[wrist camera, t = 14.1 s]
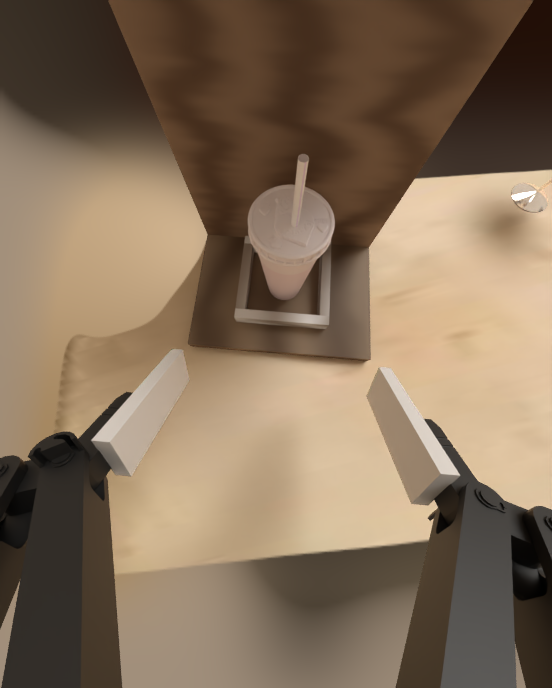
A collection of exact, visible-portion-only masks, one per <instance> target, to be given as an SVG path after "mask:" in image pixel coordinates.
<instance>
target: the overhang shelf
mask: <svg viewBox="0 0 552 688" xmlns="http://www.w3.org/2000/svg"><path fill="white" fill-rule="evenodd" d="M108 1H109V3H110V6H111V8H112V10H113V13H114V15H115V17H116V20H117V22H118V24H119V27H120V29H121V31H122V34H123V36H124V39H125V41H126V43H127V46H128V48H129V50H130V53H131V55H132V57H133V60H134V62H135V64H136V66H137V69H138V71H139V74H140V76H141V78H142V81H143V83H144V85H145V88H146V90H147V92H148V95H149V97H150V99H151V102H152V104H153V107H154V109H155V111H156V114H157V116H158V119H159V121H160V123H161V125H162V128H163V130H164V132H165V135H166V137H167V140H168V142H169V144H170V147H171V149H172V151H173V154H174V156H175V159H176V161H177V163H178V166H179V168H180V170H181V173H182V175H183V177H184V180H185V182H186V184H187V187H188V189H189V191H190V194H191V196H192V198H193V201H194V203H195V205H196V208H197V210H198V213H199V215H200V217H201V219H202V222H203V224H204V227H205V229H206V231H207V234H208V236H207V241H206V247H205V252H204V258H203V263H202V269H201V274H200V280H199V285H198V291H197V296H196V302H195V307H194V312H193V318H192V323H191V329H190V334H189V340H188V344H189V345H190V346H198V347H210V348H221V349H233V350H245V351H257V352H269V353H280V354H292V355H304V356H316V357H327V358H339V359H351V360H363V361H368V360H371V352H370V291H369V246H370V245H371V243H372V242H373V240H374V239H375V237H376V236H377V234H378V233H379V231H380V230H381V228H382V227H383V225H384V224H385V222H386V221H387V219H388V218H389V216H390V215H391V213H392V212H393V210H394V209H395V207H396V206H397V204H398V203H399V201H400V200H401V198H402V197H403V195H404V194H405V192H406V191H407V189H408V188H409V186H410V185H411V183H412V182H413V180H414V179H415V177H416V175H417V174H418V173H419V171H420V170H421V168H422V167H423V165H424V164H425V162H426V161H427V159H428V157H429V156H430V155H431V153H432V152H433V150H434V149H435V147H436V146H437V144H438V143H439V141H440V140H441V138H442V136H443V135H444V134H445V132H446V131H447V129H448V128H449V126H450V125H451V123H452V122H453V120H454V119H455V117H456V116H457V114H458V113H459V111H460V110H461V108H462V107H463V105H464V104H465V102H466V101H467V99H468V98H469V96H470V95H471V93H472V92H473V90H474V89H475V87H476V86H477V84H478V83H479V81H480V80H481V78H482V77H483V75H484V74H485V72H486V71H487V69H488V68H489V66H490V65H491V63H492V62H493V60H494V59H495V57H496V56H497V54H498V53H499V51H500V50H501V48H502V47H503V45H504V43H505V42H506V41H507V39H508V38H509V36H510V35H511V33H512V32H513V30H514V29H515V27H516V25H517V24H518V23H519V21H520V20H521V18H522V17H523V15H524V13H525V12H526V11H527V9H528V8H529V6H530V5H531V3H532V2H533V0H108ZM301 154H306V155H307V156H308V157H309V162H308V168H307V175H306V181H305V187H307V188H309V189H312V190H314V191H315V192H317V193H318V194H320V195H321V196H322V197H323V198H324V199H325V200H326V201H327V202H328V203H329V205H330V207H331V209H332V211H333V214H334V218H335V227H334V232H333V235H332V238H331V243H330V244H329V246H328V248H327V250H326V251H325V252H324V253H323V254H322V255H321V256H320V257H319V258H318V259H317V260H316V262H315V263H314V265H313V267H312V269H311V271H310V272H309V274H308V276H307V278H306V280H305V281H304V283H303V285H302V287H301V288H300V290H299V292H298V294H297V295H296V296H295V297H294V298H292V299H289V300H280V299H277V298H275V297H274V296H273V295H272V294H271V293H270V290H269V287H268V284H267V281H266V277H265V274H264V271H263V268H262V264H261V261H260V258H259V255H258V252H257V251H256V250H255V248H254V247H253V245H252V244H251V241H250V238H249V235H248V213H249V210H250V208H251V206H252V204H253V202H254V201H255V200H256V199H257V197H259V196H260V195H261V194H262V193H263V192H265V191H267V190H269V189H271V188H273V187H277V186H281V185H295V181H296V172H297V163H298V156H299V155H301Z"/></svg>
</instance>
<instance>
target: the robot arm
mask: <svg viewBox="0 0 552 688" xmlns="http://www.w3.org/2000/svg"><path fill="white" fill-rule="evenodd" d="M189 381H190V380H189V375H188V371H187V366H186V361H185V357H184V352H183V350H180V349H171V350H170V351H169V352H168V354H167V355H166V356H165V357H164V358H163V359H162V360H161V362H160V363H159V364H158V365H157V366H156V367H155V368H154V370H153V371H152V372H151V373H150V374H149V375H148V376H147V377H146V379H145V380H144V381H143V382H142V383H141V384H140V385H139V387H138V388H137V389H136V390H135V391H134V392H133V393H130V392H126V393H124V394H123V395H121V396H120V397H118V398H117V399H115V400H114V402H113V403H112V404H111V405H110V406H109V407H108V409H106V410H105V411H104V412H103V413H102V415H100V416H99V417H98V418H97V420H96V421H95V422H94V423H93V424H92V425H91V426H90V427H89V428H88V429H87V430H86V431H85V432H84V433H83V434H82V435H81V437H80V438H79V439H77V437H76V436H75V435H74V434H73V433H71V432H60V433H56V434H53V435H51V436H49V437H47V438H45V439H44V440H42V441H41V442H39V443H38V444H37V445H36V446H35V447H34V448H33V449H32V450H31V451H30V453H29V455H28V457H29V458H30V459H31V460H29V461H25V462H24V461H23V460H22V459H20V458H19V457H17V456H5V457H3V458H0V628H1V626H2V623H3V621H4V618H5V616H6V613H7V611H8V608H9V606H10V603H11V601H12V598H13V596H14V593H15V591H16V588H17V586H18V583H19V581H20V586H19V591H18V597H17V602H16V608H15V613H14V619H13V625H12V631H11V636H10V642H9V647H8V653H7V659H6V665H5V670H4V676H3V681H2V687H1V688H122V679H121V665H120V651H119V638H118V637H119V636H118V623H117V608H116V595H115V579H114V565H113V551H112V536H111V522H110V508H109V494H108V480H107V477H106V475H107V473H108V472H109V471H110V469H112V471H113V472H114V473H115V475H122V476H132V475H133V473H134V471H135V470H136V468H137V466H138V465H139V463H140V461H141V460H142V458H143V456H144V455H145V453H146V452H147V450H148V448H149V447H150V445H151V443H152V442H153V440H154V438H155V437H156V435H157V433H158V432H159V430H160V428H161V427H162V425H163V423H164V422H165V420H166V419H167V417H168V415H169V414H170V412H171V410H172V409H173V407H174V405H175V404H176V402H177V400H178V399H179V397H180V395H181V394H182V392H183V390H184V389H185V387H186V386H187V384H188V382H189ZM367 399H368V401H369V404H370V406H371V408H372V411H373V413H374V416H375V418H376V420H377V423H378V425H379V428H380V430H381V432H382V435H383V437H384V440H385V442H386V444H387V447H388V449H389V452H390V454H391V456H392V459H393V461H394V464H395V466H396V468H397V471H398V473H399V476H400V478H401V480H402V483H403V485H404V488H405V490H406V492H407V495H408V497H409V500H410V502H411V504H419V505H429V504H430V503H431V502H432V501H433V500H435V502H436V504H437V506H438V509H436V510H435V511H434V512H433V513H432V514H431V515H430V516H429V517H428V519H429V520H430V521H431V520H432V519H433V518H434V521H433V525H432V530H431V534H430V539H429V543H428V548H427V552H426V556H425V561H424V565H423V570H422V574H421V578H420V583H419V587H418V592H417V596H416V601H415V605H414V609H413V614H412V618H411V622H410V627H409V632H408V636H407V640H406V644H405V649H404V653H403V658H402V662H401V666H400V671H399V675H398V680H397V684H396V688H516V663H515V644H516V648H517V652H518V656H519V660H520V664H521V669H522V673H523V677H524V681H525V685H526V688H552V510H551V509H549V508H546V507H542V506H535V507H534V508H532V509H530V510H526V509H524V508H521V507H519V506H516V505H514V504H511V503H509V502H506V501H504V500H503V499H502V498H501V497H500V496H499V495H498V494H497V493H496V492H495V491H494V490H492V489H491V488H490V487H488V486H486V485H484V484H482V483H480V482H478V481H477V479H476V478H475V477H474V475H473V474H472V472H471V471H470V469H469V468H468V467H467V465H466V464H465V462H464V461H463V459H462V458H461V457H460V455H459V454H458V452H457V451H456V449H455V448H453V445H452V444H451V442H450V441H449V440H448V439H447V437H446V435H445V434H444V432H443V431H442V430H441V428H440V427H439V426H438V425H436V424H435V423H434V422H433V421H432V420H431V419H423V417H422V416H421V414H420V412H419V411H418V409H417V408H416V406H415V405H414V403H413V402H412V400H411V399H410V397H409V396H408V394H407V392H406V391H405V389H404V388H403V386H402V385H401V383H400V382H399V380H398V379H397V377H396V376H395V374H394V372H393V371H392V369H391V368H385V367H379V368H378V370H377V373H376V375H375V377H374V380H373V382H372V384H371V387H370V389H369V392H368V394H367ZM20 578H21V579H20Z"/></svg>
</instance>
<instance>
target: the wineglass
mask: <svg viewBox="0 0 552 688" xmlns="http://www.w3.org/2000/svg"><path fill="white" fill-rule="evenodd" d="M551 183H552V179H550V180H549V181H548V182H547V183H545V184H544V185H543V186H542V187H540V188H539V187H538V186H536V185H534V184H530V183H520V184H518V185H516V186H514V188H513V189H512V198H513V200H514V201H515V203H516V204H517V205H518V206H519V207H520V208H522V209H524V210H526V211H530V212H540V211H543V210H544V209H545V208H546V207H547V205H548V198H547V195H546V194H545V192H544V191H543V189H544V188H546V187H547V186H548V185H550V184H551Z"/></svg>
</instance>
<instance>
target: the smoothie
mask: <svg viewBox="0 0 552 688" xmlns="http://www.w3.org/2000/svg"><path fill="white" fill-rule="evenodd" d="M308 162H309V157H308V156H307V155H306V154H301V155H299V156H298V163H297V172H296V181H295V185H281V186H277V187H273V188H271V189H269V190H267V191H265V192H263V193H262V194H261V195H260V196H259V197H257V199H256V200H255V201H254V202H253V204H252V206H251V208H250V210H249V213H248V235H249V238H250V241H251V244H252V245H253V247H254V248H255V250H256V251H257V252H258V255H259V258H260V261H261V264H262V268H263V271H264V274H265V277H266V281H267V284H268V287H269V290H270V293H271V294H272V295H273V296H274V297H275V298H277V299H280V300H289V299H292V298H294V297H295V296H296V295H297V294H298V292H299V290H300V288H301V287H302V285H303V283H304V281H305V280H306V278H307V276H308V274H309V272H310V271H311V269H312V267H313V265H314V263H315V262H316V260H317V259H318V258H319V257H320V256H321V255H322V254H323V253H324V252H325V251H326V250H327V248H328V246H329V244H330V243H331V238H332V235H333V232H334V227H335V218H334V214H333V211H332V209H331V207H330V205H329V203H328V202H327V201H326V200H325V199H324V198H323V197H322V196H321V195H320V194H318V193H317V192H315V191H314V190H312V189H309V188H307V187H305V181H306V175H307V168H308Z"/></svg>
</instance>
